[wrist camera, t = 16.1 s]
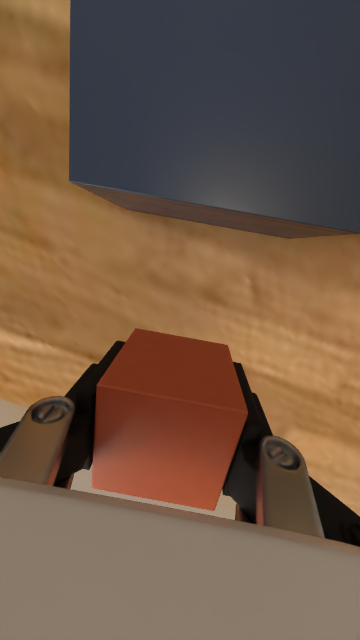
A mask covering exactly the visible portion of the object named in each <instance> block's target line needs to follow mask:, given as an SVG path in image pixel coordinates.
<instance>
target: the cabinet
mask: <svg viewBox="0 0 360 640" xmlns="http://www.w3.org/2000/svg"><path fill="white" fill-rule="evenodd" d="M69 181H70V182H71V183H73V184H75V185H77V186H80V187H81V188H83V189H86V190H88V191H90V192H92V193H94V194H96V195H98V196H100V197H102V198H104V199H106V200H108V201H110V202H112V203H114V204H116V205H118V206H120V207H122V208H124V209H127V210H132V211H138V212H143V213H149V214H155V215H160V216H166V217H171V218H177V219H182V220H188V221H194V222H199V223H205V224H210V225H216V226H221V227H227V228H232V229H238V230H244V231H249V232H255V233H260V234H266V235H271V236H277V237H283V238H288V239H290V238H303V237H317V236H331V235H345V234H359V233H360V0H71V6H70V149H69Z"/></svg>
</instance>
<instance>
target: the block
mask: <svg viewBox="0 0 360 640" xmlns="http://www.w3.org/2000/svg"><path fill="white" fill-rule="evenodd" d="M247 415H248V410H247V407H246V404H245V400H244V397H243V394H242V390H241V387H240V384H239V381H238V377H237V374H236V371H235V368H234V364H233V361H232V358H231V355H230V351H229V348H228V346H227V345H224V344H219V343H213V342H208V341H202V340H197V339H192V338H186V337H181V336H175V335H170V334H164V333H159V332H153V331H148V330H143V329H137V328H136V329H135V330H134V331H133V333H132V334H131V336H130V337H129V339H128V340H127V341H126V343H125V344H124V346H123V347H122V349H121V350H120V352H119V353H118V355H117V356H116V357H115V359H114V360H113V362H112V363H111V365H110V366H109V368H108V369H107V371H106V372H105V374H104V375H103V376H102V378H101V379H100V381H99V382H98V384H97V389H96V409H95V428H94V448H93V468H92V488H94V489H100V490H105V491H110V492H116V493H121V494H127V495H132V496H137V497H142V498H148V499H153V500H158V501H164V502H169V503H174V504H180V505H185V506H190V507H196V508H201V509H206V510H212V511H214V510H215V507H216V505H217V502H218V499H219V496H220V493H221V490H222V487H223V485H224V482H225V479H226V476H227V473H228V470H229V467H230V464H231V461H232V459H233V456H234V453H235V450H236V447H237V444H238V441H239V438H240V435H241V433H242V430H243V427H244V424H245V421H246V418H247Z"/></svg>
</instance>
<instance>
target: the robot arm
mask: <svg viewBox="0 0 360 640" xmlns="http://www.w3.org/2000/svg"><path fill="white" fill-rule="evenodd" d="M125 343H126V342H122V341H116V342H115V344H114V345H113V346H112V347H111V349H110V350H109V351H108V352H107V354H106V355H105V356H104V357H103V359H102V360H101V361H100V363H99V364H95V363H94V364H92V365H90V367H89V368H88V369H87V370H86V371H85V373H84V374H83V375H82V376H81V377H80V379H79V380H78V381H77V382H76V383H75V384H74V386H73V387H72V388H71V389H70V390H69V392H68V393H67V394H66V395H65V396H64V397H62V396H52V397H47V398H44V399H41V400H39V401H37V402H36V403H34V404H33V405H31V406H30V407H29V409H28V410H27V411H26V413H25V414H24V416H23V417H22V419H21V421H19V422H16V423H13V424H10V425H7V426H4V427H1V428H0V640H360V516H358V515H357V514H356V513H355V512H353V511H352V510H351V509H350V508H348V507H347V506H346V505H345V504H343V503H342V502H341V501H340V500H338V499H337V498H336V497H335V496H333V495H332V494H331V493H330V492H328V491H327V490H326V489H325V488H323V487H322V486H321V485H320V484H318V483H317V482H316V481H315V480H313V479H312V478H311V477H310V476H309V475H308V471H307V467H306V463H305V460H304V458H303V456H302V454H301V453H300V452H299V450H298V449H297V448H296V447H295V446H294V445H293V444H291V443H290V442H288V441H287V440H285V439H283V438H280V437H277V436H273V434H272V432H271V429H270V427H269V424H268V422H267V419H266V417H265V414H264V412H263V409H262V407H261V404H260V401H259V399H258V396H257V395H256V394H255V393H252V392H251V389H250V386H249V384H248V381H247V378H246V376H245V373H244V370H243V367H242V365H241V363H236V362H233V364H234V368H235V371H236V374H237V377H238V381H239V384H240V387H241V390H242V394H243V397H244V400H245V404H246V407H247V410H248V415H247V418H246V421H245V424H244V427H243V430H242V433H241V435H240V438H239V441H238V444H237V447H236V450H235V453H234V456H233V459H232V461H231V464H230V467H229V470H228V473H227V476H226V479H225V482H224V485H223V487H222V490H223V495H226V496H231V497H232V498H233V500H234V501H235V502H236V503H237V504H236V514H235V520H231V519H226V518H220V517H215V516H210V515H205V514H200V513H194V512H189V511H183V510H178V509H173V508H168V507H163V506H157V505H152V504H147V503H141V502H135V501H131V500H125V499H120V498H114V497H109V496H103V495H98V494H93V493H87V492H81V491H76V490H71V489H70V488H71V484H72V480H73V476H74V473H75V472H77V471H79V470H81V469H87V470H89V469H90V467H91V465H92V463H93V448H94V428H95V409H96V389H97V384H98V382H99V381H100V379H101V378H102V376H103V375H104V374H105V372H106V371H107V369H108V368H109V366H110V365H111V363H112V362H113V360H114V359H115V357H116V356H117V355H118V353H119V352H120V350H121V349H122V347H123V346H124V344H125Z"/></svg>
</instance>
